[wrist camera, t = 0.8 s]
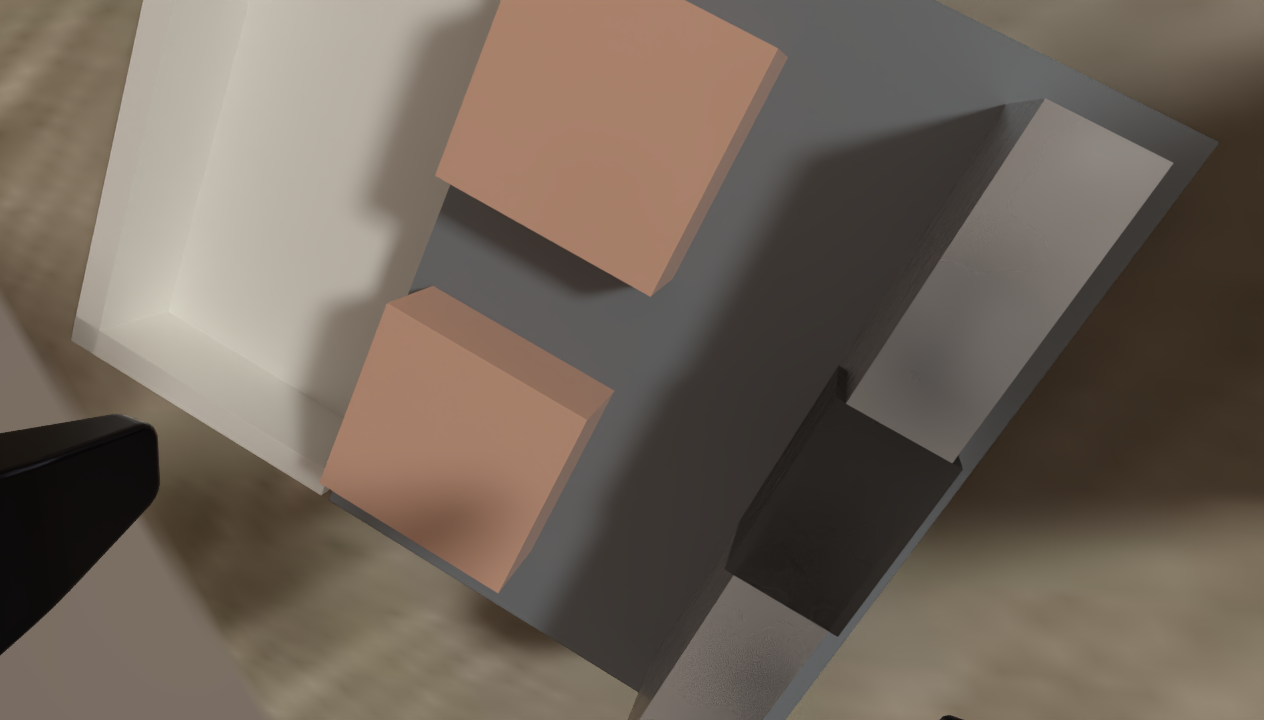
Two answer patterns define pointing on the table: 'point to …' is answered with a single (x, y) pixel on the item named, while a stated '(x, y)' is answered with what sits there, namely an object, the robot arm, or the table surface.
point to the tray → (272, 204)
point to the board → (761, 304)
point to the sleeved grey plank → (902, 408)
